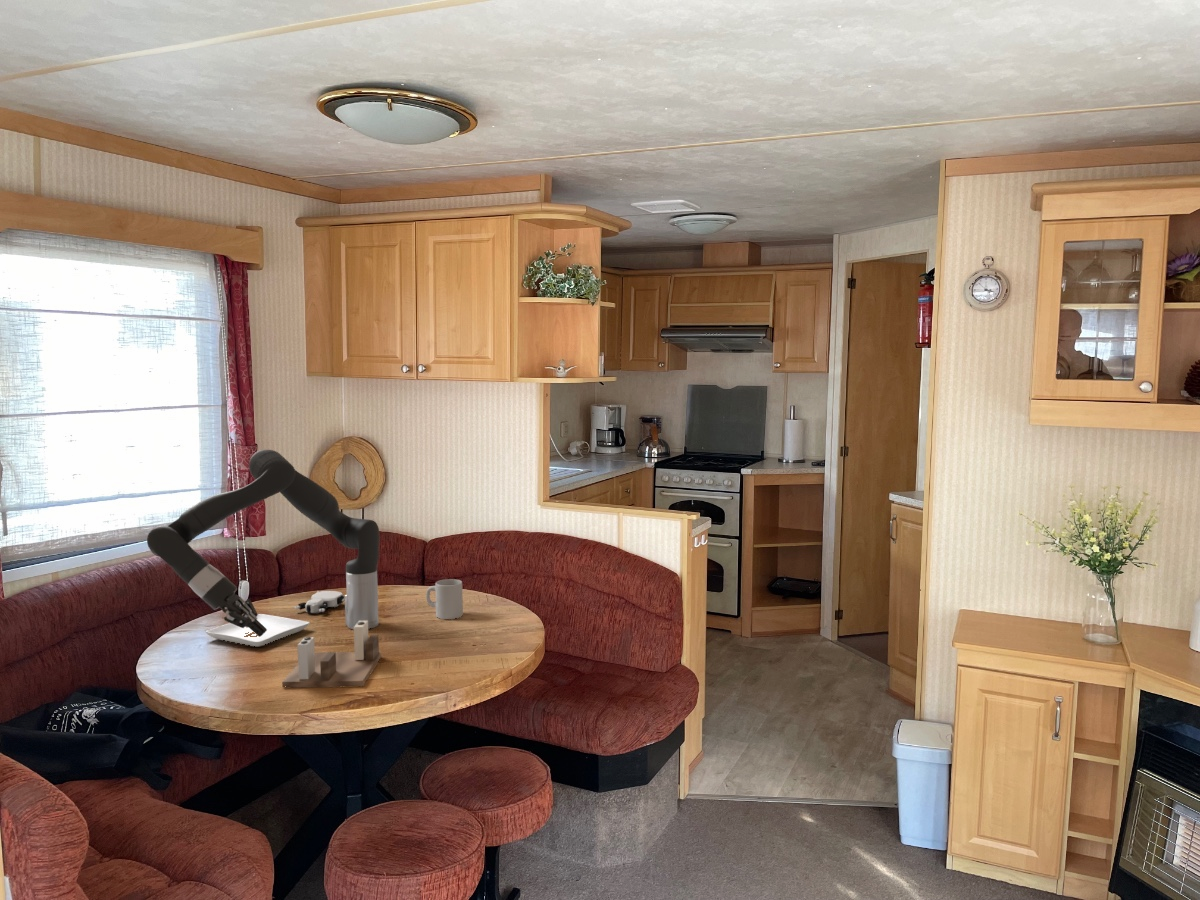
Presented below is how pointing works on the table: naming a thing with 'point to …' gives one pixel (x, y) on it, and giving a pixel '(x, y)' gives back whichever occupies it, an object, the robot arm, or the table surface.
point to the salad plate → (275, 631)
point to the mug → (447, 598)
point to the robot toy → (322, 601)
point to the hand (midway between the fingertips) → (263, 633)
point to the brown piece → (338, 668)
